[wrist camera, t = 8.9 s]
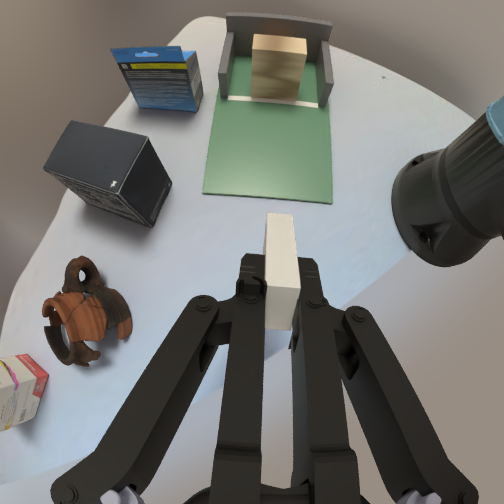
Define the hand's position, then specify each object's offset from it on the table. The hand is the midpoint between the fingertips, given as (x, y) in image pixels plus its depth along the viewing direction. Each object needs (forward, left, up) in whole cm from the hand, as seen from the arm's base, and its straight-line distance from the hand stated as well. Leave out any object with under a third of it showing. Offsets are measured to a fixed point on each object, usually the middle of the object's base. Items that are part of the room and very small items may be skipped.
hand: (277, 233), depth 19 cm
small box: (+17, -8, -15) cm, 24 cm away
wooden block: (0, -24, -14) cm, 27 cm away
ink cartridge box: (+30, +19, -15) cm, 39 cm away
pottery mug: (+19, +7, -15) cm, 25 cm away
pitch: (0, -20, -15) cm, 25 cm away
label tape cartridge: (+14, -22, -15) cm, 30 cm away
